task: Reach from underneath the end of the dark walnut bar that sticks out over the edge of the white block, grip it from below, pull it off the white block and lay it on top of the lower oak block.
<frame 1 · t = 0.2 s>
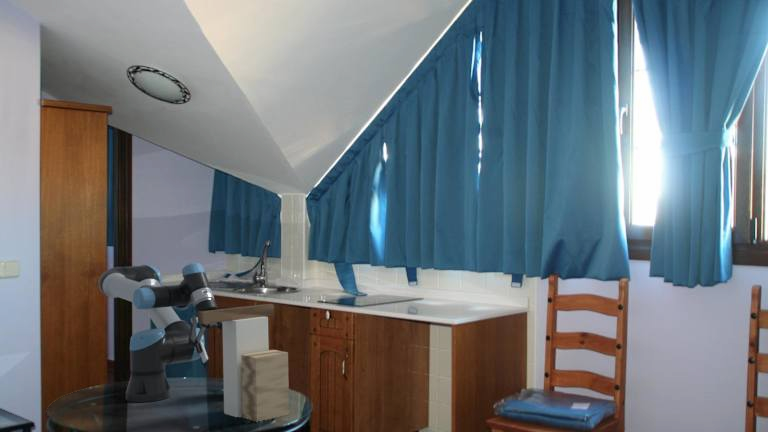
hand: (223, 358, 245), 15 cm above the table, tool tilted 35°, fingers open, 13 cm apart
walnut bar: (237, 319, 232), point 30 cm above the table, touching white block
white block: (247, 411, 234), on the table
oak block: (266, 416, 228), on the table
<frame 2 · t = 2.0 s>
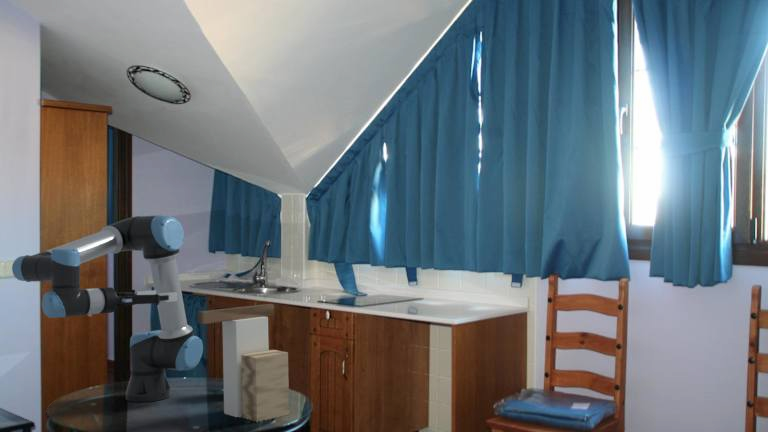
hand: (166, 295, 230), 38 cm above the table, tool horizontal, fingers open, 13 cm apart
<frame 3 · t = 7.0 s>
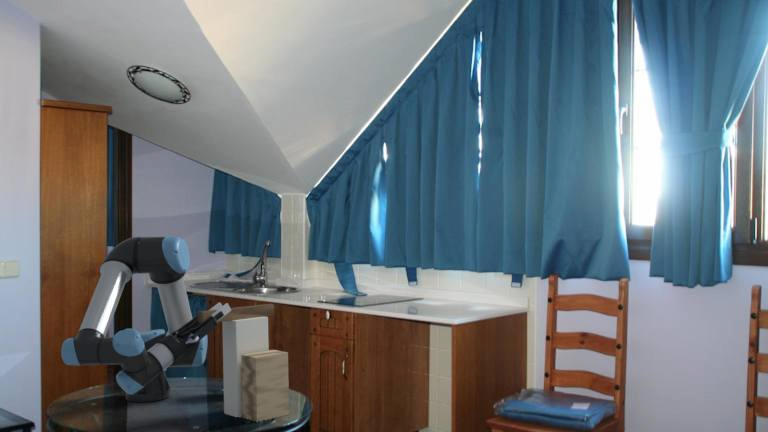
hand: (225, 306, 229), 34 cm above the table, tool pointing upward, fingers closed on walnut bar, 3 cm apart
walnut bar: (237, 319, 232), point 30 cm above the table, touching gripper, white block
everything else where it was.
when the fingers open (25 cm above the table, at t = 13.6 s): walnut bar drops 1 cm, resting on oak block.
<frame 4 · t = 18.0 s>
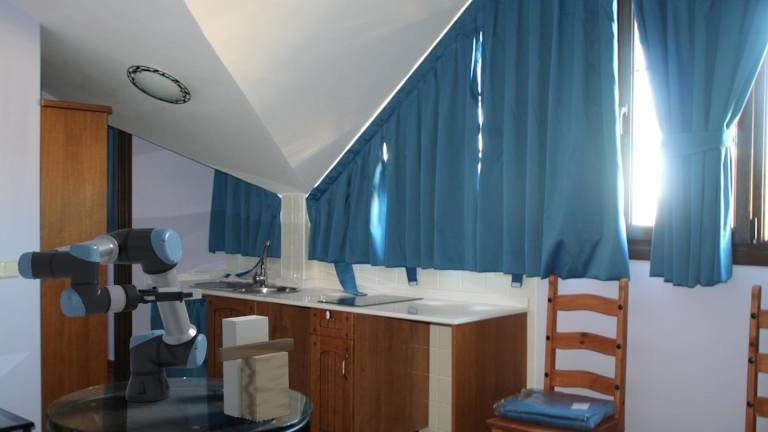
hand: (189, 292, 218), 40 cm above the table, tool horizontal, fingers open, 13 cm apart
walnut bar: (256, 354, 226), point 19 cm above the table, touching oak block
everything else where it was.
at the end: walnut bar inside the target area (0.6 cm from its centre), point 19.5 cm above the table; walnut bar touching oak block; the gripper is holding nothing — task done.
